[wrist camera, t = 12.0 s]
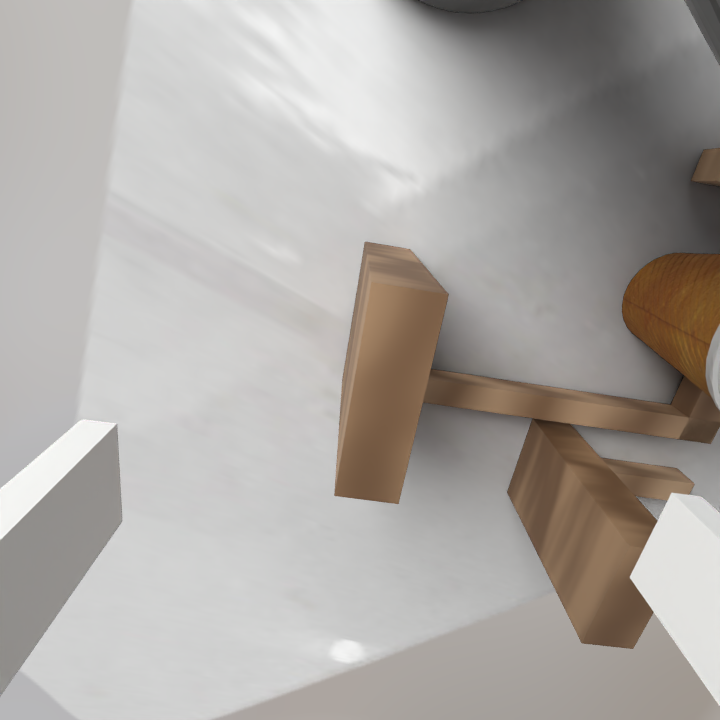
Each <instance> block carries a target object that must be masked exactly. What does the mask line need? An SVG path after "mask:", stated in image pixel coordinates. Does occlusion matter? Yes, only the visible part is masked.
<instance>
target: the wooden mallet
mask: <svg viewBox="0 0 720 720" xmlns="http://www.w3.org/2000/svg"><path fill="white" fill-rule="evenodd" d="M693 486H694V483H693V482H692V481H691V480H690V479H689V478H687V477H686V476H685V475H684V474H683V473H682V472H681V471H679V470H678V469H677V468H670V467H663V466H656V465H649V464H642V463H634V462H627V461H620V460H613V459H606V458H600V457H599V455H598V454H597V453H596V452H595V451H594V450H593V449H592V448H591V447H590V445H589V444H588V443H587V442H586V441H585V440H584V439H583V438H582V437H581V435H580V434H579V433H578V432H577V431H576V430H575V429H574V428H573V427H572V425H571V424H569V423H562V422H555V421H548V420H541V419H534V418H533V419H532V422H531V425H530V428H529V431H528V433H527V436H526V439H525V442H524V445H523V448H522V451H521V454H520V457H519V459H518V462H517V465H516V468H515V471H514V474H513V477H512V480H511V483H510V485H509V488H508V491H507V493H508V495H509V497H510V499H511V501H512V503H513V505H514V507H515V509H516V511H517V513H518V515H519V517H520V519H521V521H522V523H523V525H524V527H525V529H526V531H527V533H528V535H529V537H530V539H531V541H532V543H533V545H534V547H535V549H536V552H537V554H538V556H539V558H540V560H541V562H542V564H543V566H544V568H545V570H546V572H547V574H548V576H549V578H550V580H551V582H552V584H553V586H554V588H555V590H556V592H557V594H558V596H559V598H560V600H561V602H562V604H563V606H564V608H565V610H566V612H567V614H568V616H569V618H570V620H571V622H572V624H573V626H574V628H575V630H576V632H577V634H578V637H579V639H580V641H581V643H584V644H593V645H603V646H611V647H621V648H630V649H633V648H634V646H635V644H636V643H637V641H638V639H639V637H640V636H641V634H642V632H643V630H644V628H645V627H646V625H647V623H648V621H649V619H650V618H651V616H652V614H653V610H652V609H651V607H650V606H649V604H648V603H647V602H646V600H645V599H644V597H643V596H642V594H641V593H640V592H639V590H638V589H637V587H636V586H635V584H634V583H633V582H632V580H631V579H630V575H631V573H632V571H633V569H634V567H635V565H636V563H637V561H638V559H639V557H640V555H641V553H642V551H643V549H644V547H645V545H646V543H647V541H648V539H649V537H650V535H651V533H652V531H653V529H654V527H655V525H656V523H657V520H656V519H655V518H654V517H653V515H652V514H651V513H650V512H649V511H648V510H647V509H646V508H645V507H644V505H643V504H642V503H641V502H640V501H639V500H638V499H637V498H636V497H635V496H638V497H646V498H653V499H661V500H668V499H669V497H670V495H671V493H678V494H686V495H689V494H690V492H691V490H692V488H693Z"/></svg>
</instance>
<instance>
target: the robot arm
mask: <svg viewBox="0 0 720 720" xmlns="http://www.w3.org/2000/svg"><path fill="white" fill-rule="evenodd" d="M419 1H421V2H423V3H425V4H427V5H430V6H433V7H436V8H439V9H443V10H447V11H453V12H462V13H478V12H487V11H492V10H497V9H501V8H504V7H507V6H510V5H513V4H515V3H518V2H520V1H522V0H419ZM684 1H685V3H686V5H687V6H688V8H689V10H690V12H691V14H692V16H693V17H694V19H695V21H696V23H697V25H698V27H699V28H700V30H701V32H702V34H703V36H704V38H705V39H706V41H707V43H708V45H709V47H710V49H711V50H712V52H713V54H714V56H715V58H716V60H717V61H718V63H719V65H720V0H684ZM121 522H122V505H121V487H120V468H119V450H118V432H117V424H116V423H108V422H100V421H92V420H84V419H82V420H80V421H79V422H78V423H77V424H76V425H75V426H73V427H72V428H71V429H70V430H69V431H67V432H66V433H65V434H64V435H63V436H62V437H61V438H59V439H58V440H57V441H56V442H55V443H53V444H52V445H51V446H50V447H49V448H48V449H46V450H45V451H44V452H43V453H42V454H41V455H39V456H38V457H37V458H36V459H35V460H34V461H32V462H31V463H30V464H29V465H28V466H26V467H25V468H24V469H23V470H22V471H21V472H19V473H18V474H17V475H16V476H15V477H14V478H12V479H11V480H10V481H9V482H8V483H7V484H5V485H4V486H3V487H2V488H1V489H0V696H1V695H2V693H3V692H4V691H5V689H6V688H7V686H8V685H9V683H10V682H11V680H12V679H13V678H14V676H15V675H16V673H17V672H18V670H19V669H20V668H21V666H22V665H23V663H24V662H25V660H26V659H27V657H28V656H29V655H30V653H31V652H32V650H33V649H34V647H35V646H36V645H37V643H38V642H39V640H40V639H41V637H42V636H43V634H44V633H45V632H46V630H47V629H48V627H49V626H50V624H51V623H52V622H53V620H54V619H55V617H56V616H57V614H58V613H59V611H60V610H61V609H62V607H63V606H64V604H65V603H66V601H67V600H68V599H69V597H70V596H71V594H72V593H73V591H74V590H75V588H76V587H77V586H78V584H79V583H80V581H81V580H82V578H83V577H84V576H85V574H86V573H87V571H88V570H89V568H90V567H91V565H92V564H93V563H94V561H95V560H96V558H97V557H98V555H99V554H100V553H101V551H102V550H103V548H104V547H105V545H106V544H107V542H108V541H109V540H110V538H111V537H112V535H113V534H114V532H115V531H116V530H117V528H118V527H119V525H120V524H121ZM630 579H631V580H632V582H633V583H634V584H635V586H636V587H637V589H638V590H639V592H640V593H641V594H642V596H643V597H644V599H645V600H646V602H647V603H648V604H649V606H650V607H651V609H652V610H653V612H654V613H655V614H656V616H657V617H658V619H659V620H660V622H661V623H662V624H663V626H664V627H665V629H666V630H667V632H668V633H669V634H670V636H671V637H672V639H673V640H674V641H675V643H676V644H677V646H678V647H679V649H680V650H681V651H682V653H683V654H684V656H685V657H686V659H687V660H688V662H689V663H690V665H691V666H692V667H693V669H694V670H695V672H696V673H697V674H698V676H699V677H700V679H701V680H702V682H703V683H704V685H705V686H706V687H707V689H708V690H709V692H710V693H711V695H712V696H713V697H714V699H715V700H716V702H717V703H718V705H719V706H720V513H719V512H718V511H717V510H716V509H715V508H714V507H713V506H711V505H710V504H709V503H708V502H707V501H706V500H705V499H704V498H703V497H701V496H694V495H686V494H678V493H671V495H670V497H669V499H668V501H667V503H666V505H665V507H664V509H663V511H662V513H661V515H660V517H659V519H658V521H657V523H656V525H655V527H654V529H653V531H652V533H651V535H650V537H649V539H648V541H647V543H646V545H645V547H644V549H643V551H642V553H641V555H640V557H639V559H638V561H637V563H636V565H635V567H634V569H633V571H632V573H631V575H630Z"/></svg>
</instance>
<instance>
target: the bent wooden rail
mask: <svg viewBox="0 0 720 720" xmlns="http://www.w3.org/2000/svg"><path fill="white" fill-rule="evenodd" d="M691 181H693V182H699V183H704V184H709V185H715V186H720V148H715V149H705V150H703V152H702V155H701V157H700V160H699V162H698V165H697V167H696V170H695V172H694V175H693V177H692V180H691ZM448 295H449V294H448V293H447V292H446V291H445V290H444V288H443V287H442V286H441V285H440V284H439V283H438V281H437V280H436V279H435V278H434V277H433V276H432V274H431V273H430V272H429V271H428V270H427V269H426V267H425V266H424V265H423V264H422V263H421V261H420V260H419V259H418V258H417V257H416V256H415V254H414V253H413V252H412V251H411V250H410V249H406V248H400V247H394V246H388V245H382V244H376V243H370V242H365V244H364V250H363V257H362V263H361V269H360V275H359V281H358V287H357V293H356V300H355V306H354V312H353V318H352V324H351V330H350V336H349V342H348V349H347V355H346V361H345V367H344V373H343V379H342V393H341V407H340V422H339V436H338V451H337V465H336V480H335V494H334V496H340V497H348V498H356V499H363V500H371V501H379V502H387V503H395V504H399V499H400V495H401V491H402V487H403V483H404V479H405V474H406V470H407V466H408V462H409V458H410V454H411V449H412V445H413V441H414V437H415V433H416V429H417V424H418V420H419V416H420V412H421V408H422V404H423V403H430V404H437V405H444V406H451V407H458V408H465V409H472V410H479V411H486V412H493V413H500V414H507V415H514V416H521V417H528V418H535V419H541V420H548V421H555V422H562V423H569V424H576V425H583V426H590V427H597V428H604V429H611V430H618V431H625V432H632V433H639V434H646V435H653V436H660V437H667V438H674V439H681V440H688V441H694V442H701V443H708V444H711V442H712V440H713V438H714V436H715V435H716V433H717V431H718V429H719V427H720V411H719V409H718V408H717V407H716V405H715V403H714V401H713V399H712V398H711V397H709V396H708V395H707V394H706V393H704V392H703V391H702V390H701V389H699V388H698V387H697V386H696V385H695V384H693V383H692V382H691V381H690V380H689V379H688V378H687V377H685V376H684V377H683V379H682V381H681V384H680V386H679V388H678V390H677V392H676V394H675V396H674V399H673V401H672V403H671V405H669V404H662V403H656V402H649V401H642V400H636V399H629V398H622V397H616V396H609V395H602V394H595V393H589V392H582V391H575V390H569V389H562V388H555V387H548V386H542V385H535V384H528V383H522V382H515V381H508V380H502V379H495V378H488V377H481V376H475V375H468V374H461V373H455V372H448V371H441V370H435V369H431V366H432V362H433V358H434V354H435V350H436V345H437V341H438V337H439V333H440V329H441V325H442V320H443V316H444V312H445V308H446V304H447V300H448Z"/></svg>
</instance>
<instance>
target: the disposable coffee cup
mask: <svg viewBox="0 0 720 720" xmlns="http://www.w3.org/2000/svg"><path fill="white" fill-rule="evenodd" d="M622 314H623V319H624V322H625V324H626V326H627V328H628V329H629V330H630V331H631V332H632V333H633V334H634V335H635V336H637V337H638V338H639V339H641V340H642V341H643V342H644V343H645V344H646V345H648V346H649V347H650V348H651V349H652V350H654V351H655V352H656V353H657V354H659V355H660V356H661V357H662V358H663V359H664V360H666V361H667V362H668V363H669V364H671V365H672V366H673V367H674V368H676V369H677V370H678V371H679V372H681V373H682V374H683V375H684V376H685V377H687V378H688V379H689V380H690V381H691V382H692V383H693V384H695V385H696V386H697V387H698V388H699V389H701V390H702V391H703V392H704V393H706V394H707V395H708V396H709V397H711V398H712V399H713V401H714V403H715V405H716V407H717V408H718V409H719V411H720V254H693V253H673V254H668V255H664V256H662V257H659V258H657V259H655V260H653V261H651V262H650V263H648V264H647V265H646V266H644V267H643V268H642V269H641V270H640V271H639V272H638V273H637V274H636V275H635V277H634V278H633V279H632V280H631V282H630V284H629V285H628V287H627V289H626V292H625V294H624V298H623V304H622Z"/></svg>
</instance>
